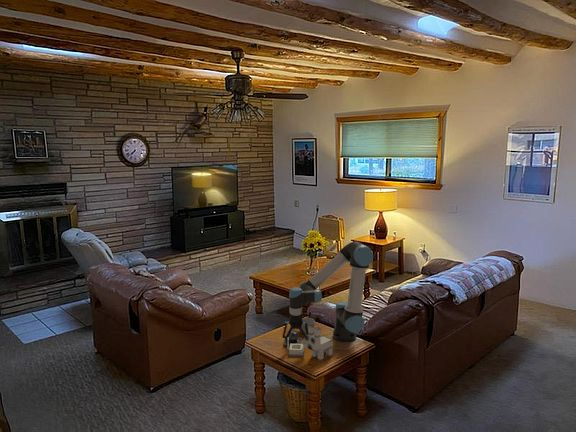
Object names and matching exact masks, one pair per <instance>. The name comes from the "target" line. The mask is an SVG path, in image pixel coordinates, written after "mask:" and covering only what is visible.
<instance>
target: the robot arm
mask: <svg viewBox="0 0 576 432" xmlns="http://www.w3.org/2000/svg"><path fill="white" fill-rule="evenodd" d="M373 259H374V253H373V250H372V249H371V248H370V247H369V246H367V245H366V244H363V243H361V242H360V241H351V242H349V243H347V244H345V246H343V247H342V248H341V249H340V250H338V253H337V254H336V256H334V257H333V258H331V260H329V262H327V263H326V264H325V265H324V266H323V267H322V268H320V269H319V270H318V271H317V272H316V273H315V274H314V275H313V276H312V277H310V278H308V280H307V281H303V282H301V283H300V284H299V287H296V286H295V287H294V286H293V287H291V288H289V292H288V293H289V295H288V299H289V300H288V301H289V302H288V303H289V321H284V328H283V332H282V339H284V341H285V343H286V344H287V348H286V349H287V350H289V348H290V347H289V337H288V336H289V334H290V333H291V331H292V329H295V330H296V329H297V330H299V331H300V333H301V334H302V336H303V348H304V351H305V350H306V347H305V335H307V334H308V327H307V322H303V321H302V318H303V304H313V303H320V302H322V299H323V295H322V291H321V289H319V288H320V286H321V285H323V284H324V283H325V282H326V281H328V279H329V278H331V277H332V276H333V275H334V274H335V273H337V272H338V271H339V270H340V269H341V268H342V267H344V266H345V265H346V264H349V266H350V267H351V273H350V278H349V279H350V280H349V287H348V296H347V301H339V302H337V303H336V304H335V307H334V308H335V326H334V329H333V332H332V337H333V339H335V340H336V341H339V342H352V341H355V340H356V339H357V333H358V332H360V331H361V330H363V329H364V326H365V323H366V322H365V320H364V317H363V315H364V310H363V308H362V302H363V295H364V287H365V280H366V272H367V270H369V268H370V264H371V263H372V262H373ZM302 324H304V326H305V329H306V333H305V332H304V330H303V329H302ZM288 326H290V327H289V330H288V331H287V328H288ZM286 332H287V333H286ZM355 338H356V339H355Z"/></svg>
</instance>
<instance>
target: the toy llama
mask: <svg viewBox="0 0 576 432" xmlns="http://www.w3.org/2000/svg"><path fill="white" fill-rule="evenodd" d="M305 349H309V350H310V351H311V357H312V358H314V359H315V358H317V360H318V361H320V362H321V361H323V360H324V359H325V358H324V354H326V355H325V356H328V358H329V357H332V356H333V339H332V338H331V337H328V336H326V335H321V328H320V327H316V326H315V328H314V325H309V326H308V334H307V333H306V335H305Z"/></svg>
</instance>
